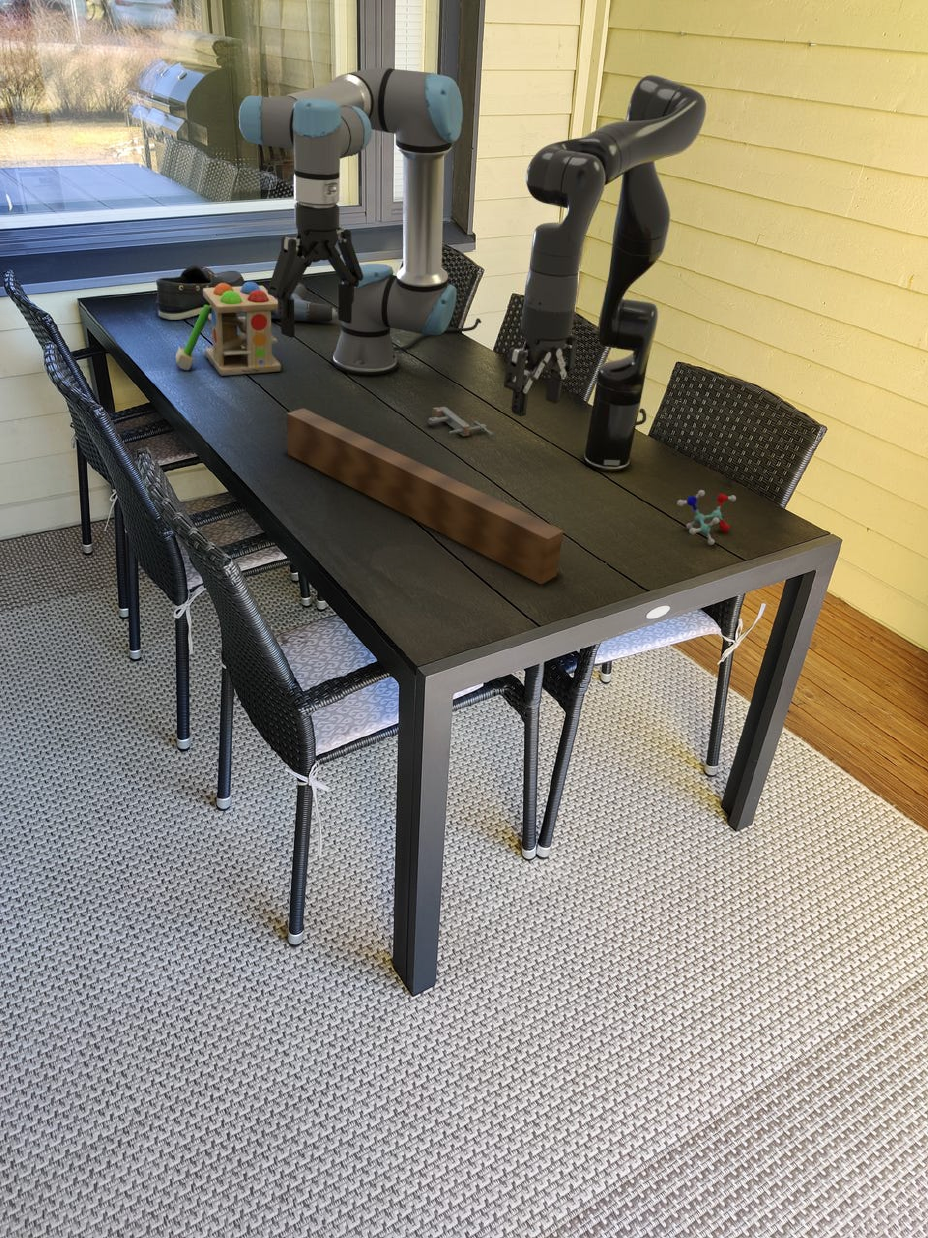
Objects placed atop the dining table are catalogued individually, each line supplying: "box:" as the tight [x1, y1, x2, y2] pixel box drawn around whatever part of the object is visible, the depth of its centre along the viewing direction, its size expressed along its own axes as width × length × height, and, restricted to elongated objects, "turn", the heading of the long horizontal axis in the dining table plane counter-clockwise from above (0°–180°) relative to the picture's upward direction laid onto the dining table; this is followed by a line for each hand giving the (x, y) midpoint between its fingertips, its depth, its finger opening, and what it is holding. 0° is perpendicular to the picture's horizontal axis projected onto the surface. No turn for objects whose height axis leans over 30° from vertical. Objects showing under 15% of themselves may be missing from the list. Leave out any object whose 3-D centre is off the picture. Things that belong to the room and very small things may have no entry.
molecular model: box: [676, 489, 737, 546], centre depth 179 cm, size 12×10×10 cm
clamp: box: [428, 406, 495, 438], centre depth 210 cm, size 15×2×10 cm
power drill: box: [271, 282, 338, 322], centre depth 265 cm, size 5×19×20 cm
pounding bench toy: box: [174, 281, 282, 377], centre depth 225 cm, size 23×14×18 cm, turn 116°
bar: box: [286, 407, 564, 585], centre depth 176 cm, size 64×4×9 cm, turn 49°
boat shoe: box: [155, 264, 246, 321], centre depth 263 cm, size 13×33×10 cm, turn 147°
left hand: (317, 328), depth 177 cm, fingers open, 13 cm apart
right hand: (535, 407), depth 150 cm, fingers open, 8 cm apart
